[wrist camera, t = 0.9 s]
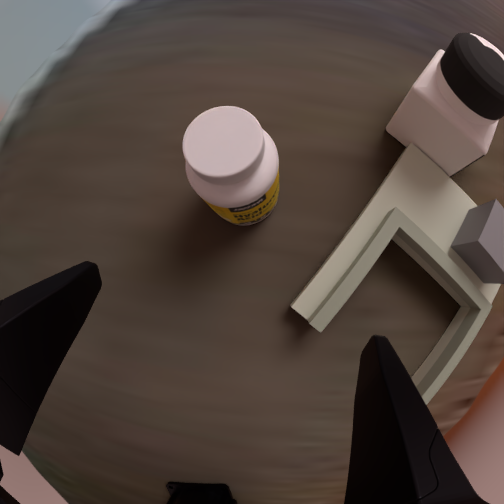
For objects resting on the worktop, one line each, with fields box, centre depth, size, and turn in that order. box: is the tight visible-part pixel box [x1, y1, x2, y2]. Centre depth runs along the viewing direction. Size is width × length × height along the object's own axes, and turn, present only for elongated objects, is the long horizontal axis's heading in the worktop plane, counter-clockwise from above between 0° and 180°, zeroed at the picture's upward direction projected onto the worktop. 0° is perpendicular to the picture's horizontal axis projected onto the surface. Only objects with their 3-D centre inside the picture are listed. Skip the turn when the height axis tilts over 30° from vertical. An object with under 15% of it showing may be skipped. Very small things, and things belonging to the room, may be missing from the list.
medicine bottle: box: [386, 33, 504, 177], centre depth 16 cm, size 7×7×12 cm
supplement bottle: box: [183, 106, 279, 225], centre depth 18 cm, size 5×5×10 cm
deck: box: [290, 143, 504, 405], centre depth 18 cm, size 16×14×6 cm
